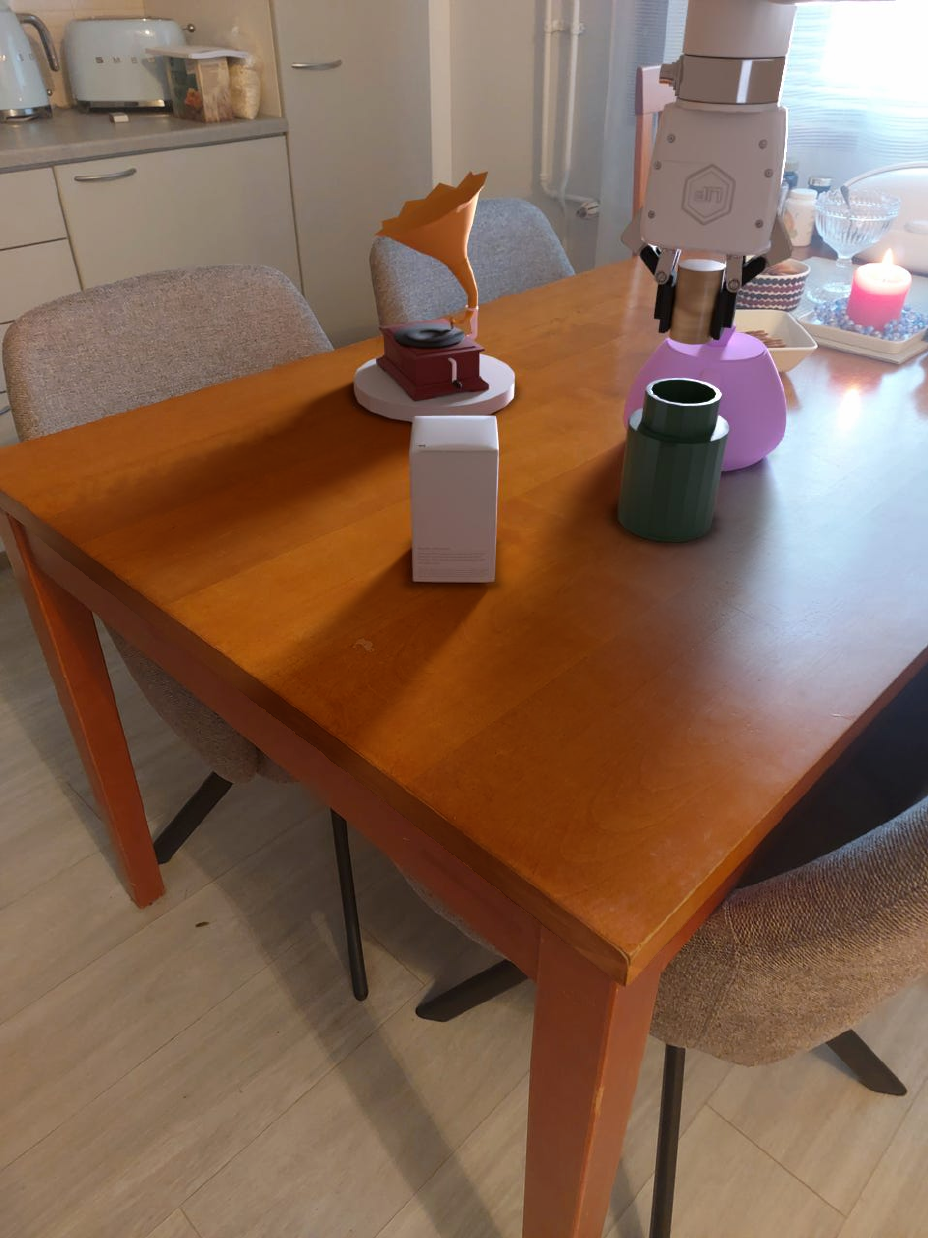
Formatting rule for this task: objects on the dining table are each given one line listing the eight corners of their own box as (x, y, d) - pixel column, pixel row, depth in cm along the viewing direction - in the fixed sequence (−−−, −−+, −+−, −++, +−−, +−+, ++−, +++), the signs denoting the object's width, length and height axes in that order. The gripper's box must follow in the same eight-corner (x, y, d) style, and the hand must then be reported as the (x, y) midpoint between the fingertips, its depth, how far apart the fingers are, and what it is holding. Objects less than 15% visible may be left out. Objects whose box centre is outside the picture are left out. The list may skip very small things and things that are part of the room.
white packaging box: (495, 584, 78) (499, 450, 70) (411, 583, 78) (405, 450, 70) (494, 540, 84) (498, 413, 76) (415, 540, 84) (411, 413, 76)
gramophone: (475, 354, 125) (477, 155, 110) (543, 407, 110) (556, 184, 95) (334, 374, 118) (317, 166, 104) (385, 434, 103) (373, 199, 88)
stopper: (716, 333, 78) (728, 261, 74) (709, 347, 75) (721, 273, 71) (672, 327, 79) (683, 256, 75) (664, 341, 76) (674, 268, 73)
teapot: (780, 498, 91) (812, 367, 83) (607, 477, 94) (620, 349, 86) (778, 406, 110) (803, 292, 102) (635, 391, 114) (648, 280, 106)
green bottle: (717, 506, 89) (741, 381, 82) (702, 550, 83) (726, 417, 75) (629, 490, 92) (644, 367, 84) (607, 531, 85) (621, 401, 78)
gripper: (606, 84, 66) (585, 332, 76) (846, 94, 61) (787, 359, 71) (630, 75, 71) (607, 308, 82) (851, 84, 66) (796, 331, 77)
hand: (691, 329), depth 77 cm, fingers closed on stopper, 3 cm apart
